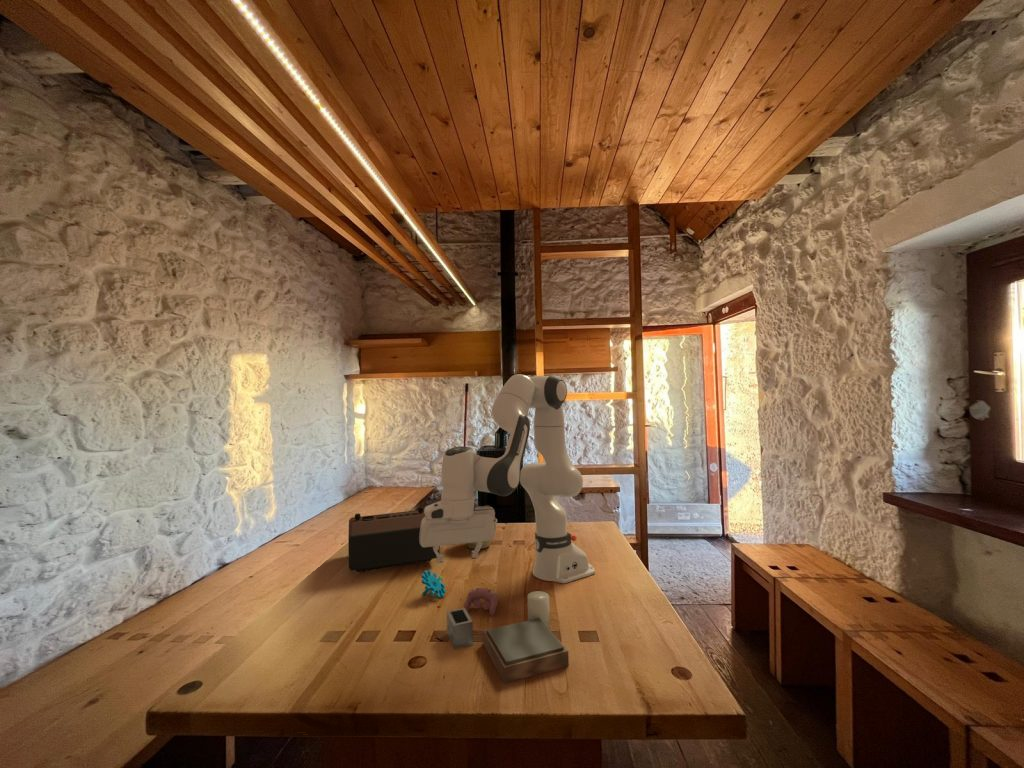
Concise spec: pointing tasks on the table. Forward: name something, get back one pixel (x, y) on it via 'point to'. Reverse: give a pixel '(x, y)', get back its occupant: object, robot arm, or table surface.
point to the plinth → (524, 649)
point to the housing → (459, 628)
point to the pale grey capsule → (539, 607)
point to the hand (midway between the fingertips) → (457, 560)
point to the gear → (433, 584)
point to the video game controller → (482, 593)
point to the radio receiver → (386, 541)
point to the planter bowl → (484, 543)
